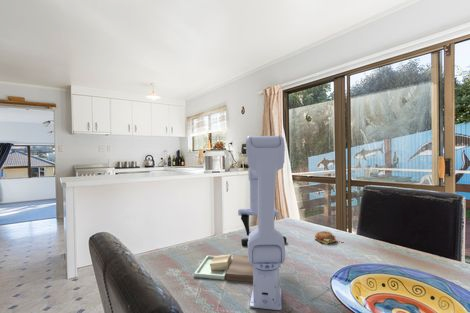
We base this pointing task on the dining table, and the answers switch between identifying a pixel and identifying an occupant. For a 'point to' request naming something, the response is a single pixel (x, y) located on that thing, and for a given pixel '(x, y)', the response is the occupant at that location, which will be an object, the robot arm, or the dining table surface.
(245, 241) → the black toy gun
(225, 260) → the oak tile
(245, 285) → the dining table surface
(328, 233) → the hamburger
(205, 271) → the green tray
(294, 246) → the dining table surface
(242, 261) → the walnut board
